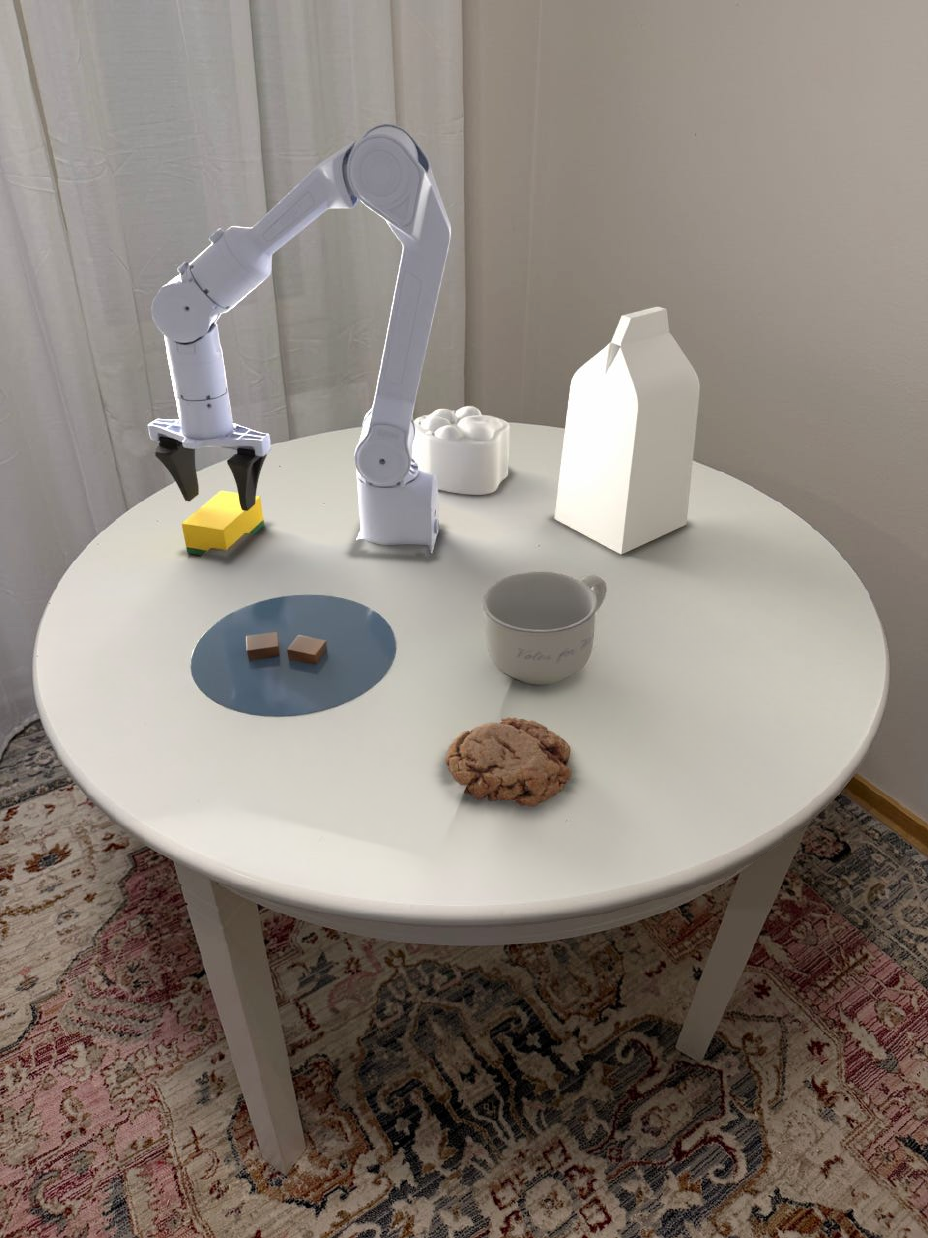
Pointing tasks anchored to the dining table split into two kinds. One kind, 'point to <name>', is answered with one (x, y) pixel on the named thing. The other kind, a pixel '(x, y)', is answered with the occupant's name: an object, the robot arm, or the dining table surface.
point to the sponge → (220, 523)
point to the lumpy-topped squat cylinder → (462, 450)
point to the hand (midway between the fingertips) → (220, 502)
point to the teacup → (541, 624)
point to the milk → (630, 437)
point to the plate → (286, 685)
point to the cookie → (510, 761)
